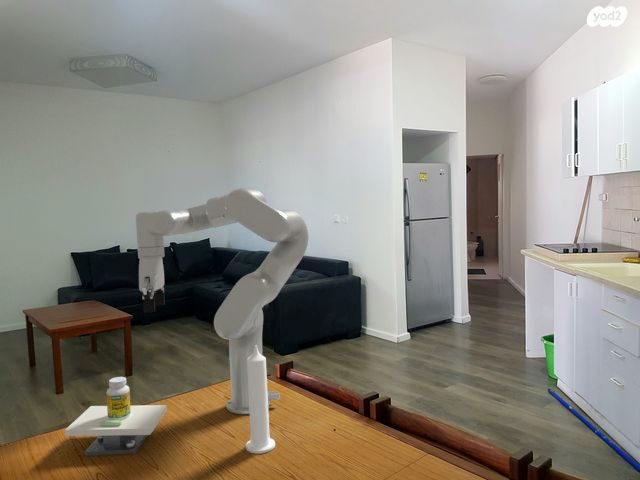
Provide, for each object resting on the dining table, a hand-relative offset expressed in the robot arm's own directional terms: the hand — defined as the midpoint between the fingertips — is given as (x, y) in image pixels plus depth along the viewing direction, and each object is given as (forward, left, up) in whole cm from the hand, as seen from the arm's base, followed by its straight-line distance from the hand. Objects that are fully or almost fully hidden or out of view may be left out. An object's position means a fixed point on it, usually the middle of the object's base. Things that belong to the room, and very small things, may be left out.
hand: (154, 308), depth 149 cm
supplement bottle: (+2, +27, -22) cm, 35 cm away
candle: (-34, +33, -28) cm, 55 cm away
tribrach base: (+2, +27, -28) cm, 39 cm away
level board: (+2, +27, -23) cm, 36 cm away
